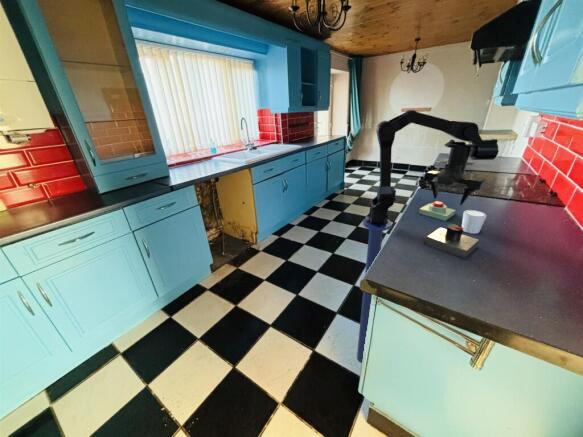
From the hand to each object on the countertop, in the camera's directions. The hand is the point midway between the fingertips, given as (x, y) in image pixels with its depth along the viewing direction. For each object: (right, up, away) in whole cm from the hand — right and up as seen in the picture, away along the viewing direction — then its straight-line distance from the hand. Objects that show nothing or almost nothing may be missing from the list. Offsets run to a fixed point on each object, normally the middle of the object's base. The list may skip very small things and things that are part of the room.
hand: (447, 201), depth 90 cm
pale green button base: (+4, -5, +14) cm, 16 cm away
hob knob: (-5, -13, -10) cm, 17 cm away
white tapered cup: (+9, -11, 0) cm, 14 cm away
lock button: (+4, -1, +13) cm, 14 cm away
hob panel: (-5, -16, -9) cm, 19 cm away
